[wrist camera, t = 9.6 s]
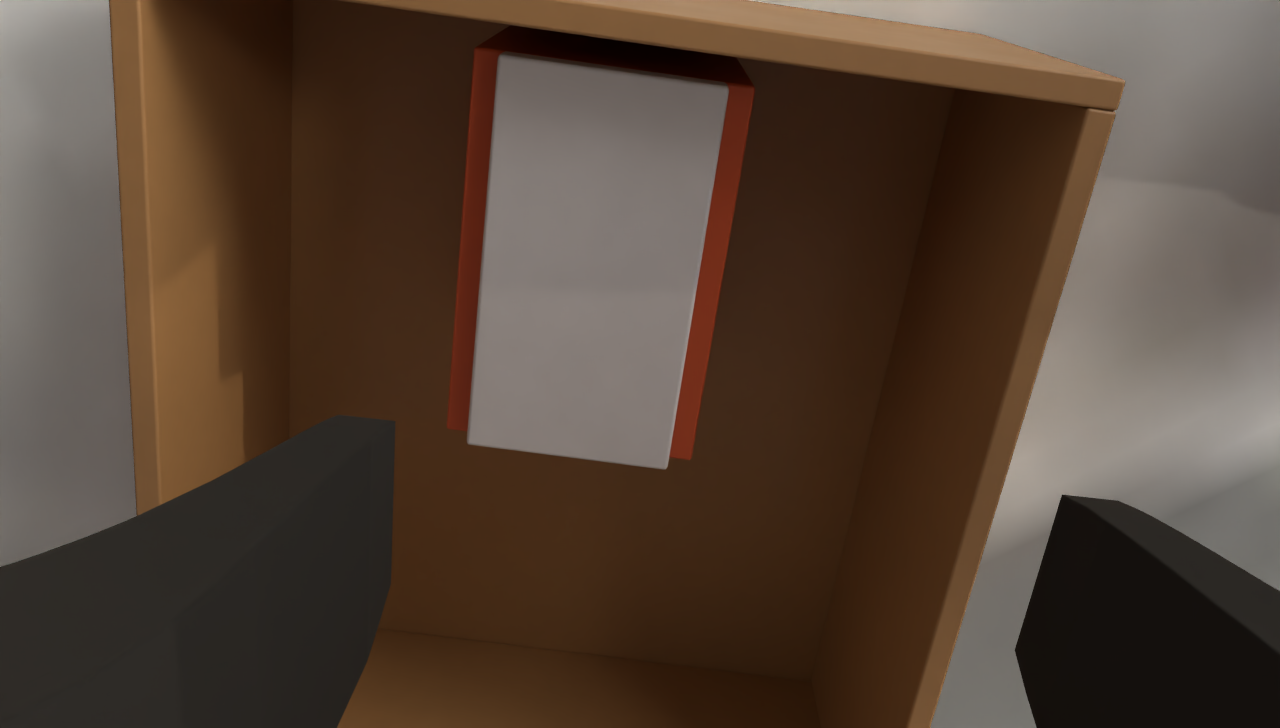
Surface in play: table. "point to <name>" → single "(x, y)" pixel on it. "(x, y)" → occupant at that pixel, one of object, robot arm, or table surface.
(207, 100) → the box
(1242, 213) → the table surface
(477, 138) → the block
